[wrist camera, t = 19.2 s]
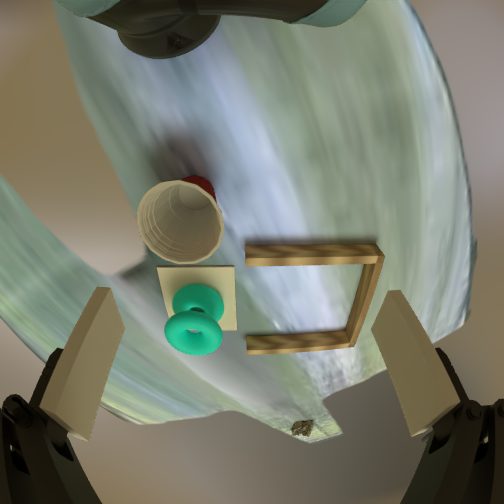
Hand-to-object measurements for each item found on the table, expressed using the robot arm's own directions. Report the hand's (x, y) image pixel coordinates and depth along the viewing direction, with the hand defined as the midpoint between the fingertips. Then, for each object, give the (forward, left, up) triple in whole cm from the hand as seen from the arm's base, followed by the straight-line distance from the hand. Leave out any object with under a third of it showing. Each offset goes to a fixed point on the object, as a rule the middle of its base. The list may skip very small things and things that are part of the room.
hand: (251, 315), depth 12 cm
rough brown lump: (+58, -75, -31) cm, 100 cm away
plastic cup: (-5, -7, -31) cm, 32 cm away
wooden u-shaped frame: (+22, -18, -31) cm, 42 cm away
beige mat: (+3, -27, -31) cm, 41 cm away
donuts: (+3, -27, -31) cm, 41 cm away
